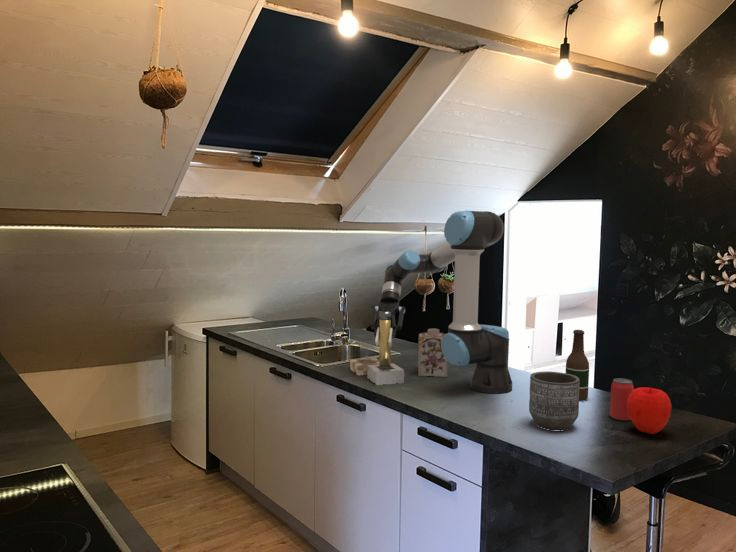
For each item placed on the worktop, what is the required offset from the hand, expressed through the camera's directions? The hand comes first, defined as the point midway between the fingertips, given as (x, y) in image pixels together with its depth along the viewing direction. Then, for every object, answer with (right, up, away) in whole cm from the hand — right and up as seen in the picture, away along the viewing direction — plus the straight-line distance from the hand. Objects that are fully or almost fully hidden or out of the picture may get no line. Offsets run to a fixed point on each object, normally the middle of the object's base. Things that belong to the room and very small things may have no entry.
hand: (383, 343), depth 225 cm
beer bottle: (+67, -17, -17) cm, 71 cm away
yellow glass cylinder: (+1, -9, +4) cm, 10 cm away
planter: (+50, -20, -46) cm, 70 cm away
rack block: (-6, -13, +18) cm, 24 cm away
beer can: (+74, -19, -38) cm, 85 cm away
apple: (+76, -20, -51) cm, 93 cm away
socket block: (+1, -15, +5) cm, 15 cm away
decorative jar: (+20, -14, +16) cm, 29 cm away
